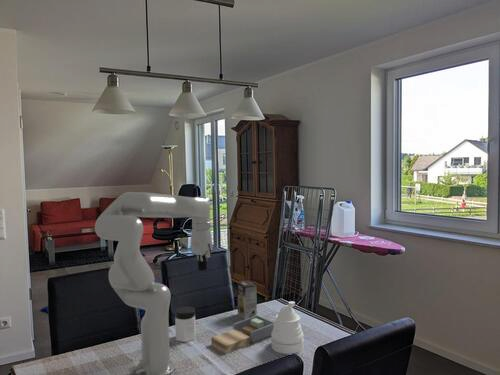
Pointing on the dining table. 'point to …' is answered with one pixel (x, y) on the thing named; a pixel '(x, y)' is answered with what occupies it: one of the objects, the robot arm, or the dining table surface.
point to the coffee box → (247, 299)
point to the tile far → (257, 323)
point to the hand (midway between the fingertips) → (202, 269)
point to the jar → (185, 324)
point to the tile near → (248, 329)
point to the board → (230, 341)
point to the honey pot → (287, 331)
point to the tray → (259, 333)
